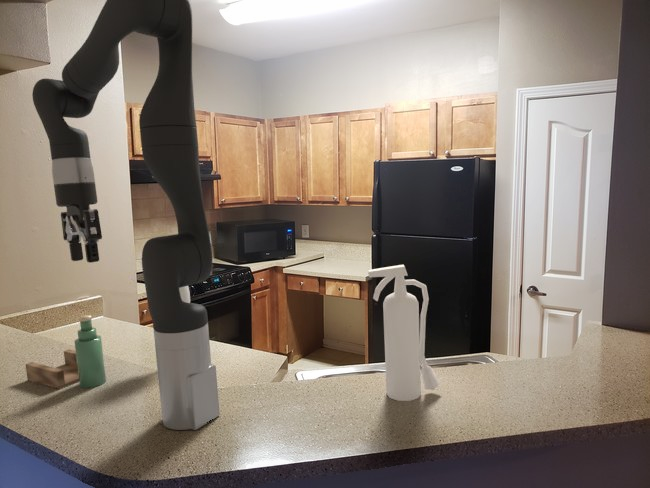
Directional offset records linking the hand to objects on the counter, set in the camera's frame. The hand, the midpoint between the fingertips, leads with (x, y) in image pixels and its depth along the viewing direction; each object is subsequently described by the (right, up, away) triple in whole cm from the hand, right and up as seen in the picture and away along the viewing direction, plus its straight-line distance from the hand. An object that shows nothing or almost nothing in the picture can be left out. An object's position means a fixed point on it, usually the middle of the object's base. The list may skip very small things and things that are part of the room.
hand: (85, 261), depth 101 cm
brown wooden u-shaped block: (-10, -27, +11) cm, 31 cm away
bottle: (-1, -27, +6) cm, 28 cm away
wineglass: (+14, -25, +17) cm, 33 cm away
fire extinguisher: (+65, -25, -7) cm, 70 cm away
